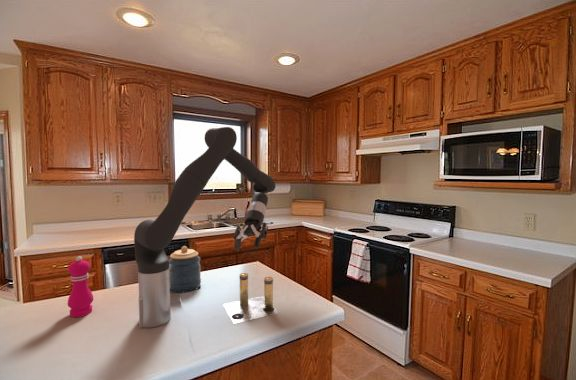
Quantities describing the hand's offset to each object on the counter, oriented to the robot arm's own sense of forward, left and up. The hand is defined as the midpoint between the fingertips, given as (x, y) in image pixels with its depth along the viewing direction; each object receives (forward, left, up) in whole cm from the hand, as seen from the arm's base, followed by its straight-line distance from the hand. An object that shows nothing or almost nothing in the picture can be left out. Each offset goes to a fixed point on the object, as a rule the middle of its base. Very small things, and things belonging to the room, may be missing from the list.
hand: (246, 248), depth 108 cm
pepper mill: (-55, +14, -20) cm, 60 cm away
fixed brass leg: (+3, -14, -18) cm, 24 cm away
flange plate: (-2, -11, -20) cm, 23 cm away
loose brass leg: (-3, -7, -18) cm, 20 cm away
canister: (-20, +22, -20) cm, 36 cm away
